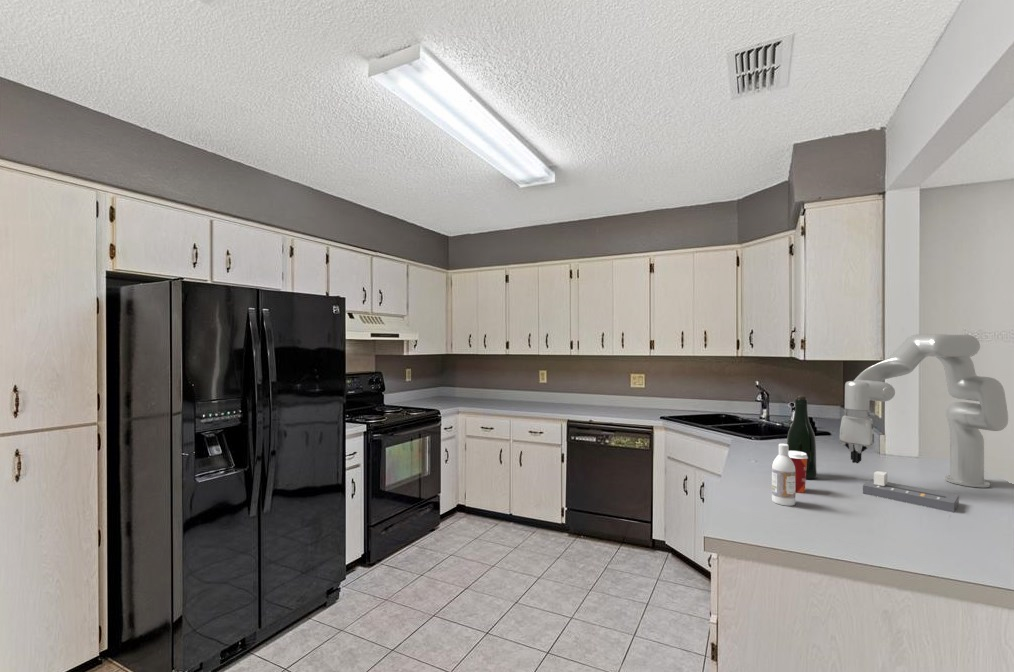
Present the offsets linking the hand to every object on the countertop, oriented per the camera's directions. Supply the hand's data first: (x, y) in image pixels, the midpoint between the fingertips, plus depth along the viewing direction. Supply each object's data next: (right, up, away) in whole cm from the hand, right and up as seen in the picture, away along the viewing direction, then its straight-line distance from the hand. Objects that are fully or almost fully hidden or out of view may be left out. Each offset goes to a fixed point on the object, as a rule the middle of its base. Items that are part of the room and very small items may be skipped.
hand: (855, 462), depth 175 cm
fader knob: (+5, -6, -5) cm, 10 cm away
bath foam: (-37, -10, -16) cm, 42 cm away
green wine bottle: (-11, -10, +15) cm, 21 cm away
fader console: (+10, -10, -11) cm, 18 cm away
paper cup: (-25, -10, -3) cm, 27 cm away
